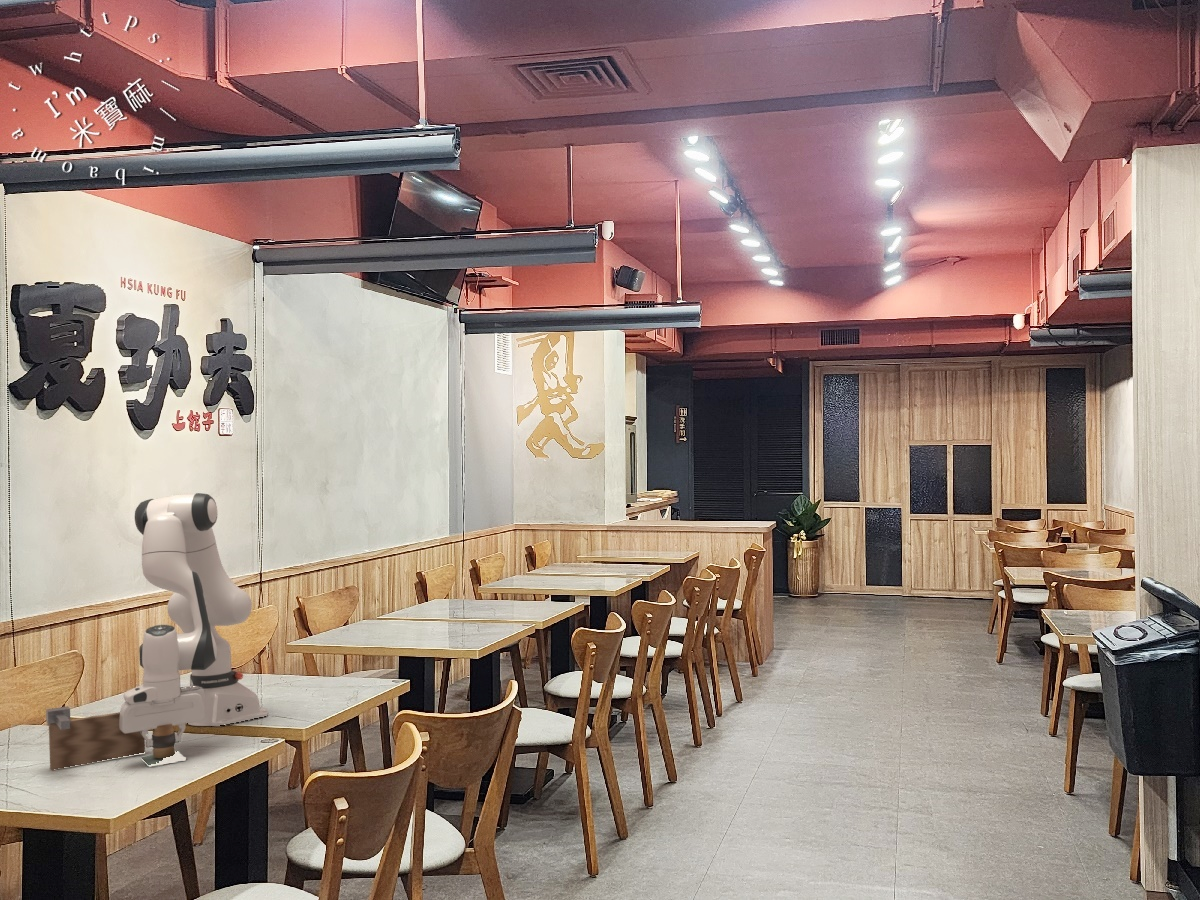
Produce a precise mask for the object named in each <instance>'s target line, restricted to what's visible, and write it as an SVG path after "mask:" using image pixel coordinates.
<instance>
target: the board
mask: <svg viewBox="0 0 1200 900" xmlns="http://www.w3.org/2000/svg"><path fill="white" fill-rule="evenodd" d="M119 718H120V712H119V711H118V712H112V713H111V712H110V713H105V714H100V715H99V714H98V715H93V716H86V717H80V718H79V717H78V718H73V719H70V729H64V730H61V729H60V728H59V727H58V726H57V724H56V723H52V724H48V741H49V743H48V745H49V770H50V771H51V770H52V771H55V770H54V769H57V770H59V769H58V768H63V769H65V768H64V767H69V768H71V767H70V766H75V765H80V766H82V765H81V764H86V765H88V764H87V763H92V762H97V761H102V760H107V759H112V758H118V757H123V756H129V755H134V754H139V753H144V752H145V753H146V740H145V739H144V738H143V736H142V735H141V731H138V732H132V733H123V732H122V731H121V730H120V728H119ZM92 764H93V763H92ZM75 767H76V766H75Z"/></svg>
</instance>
